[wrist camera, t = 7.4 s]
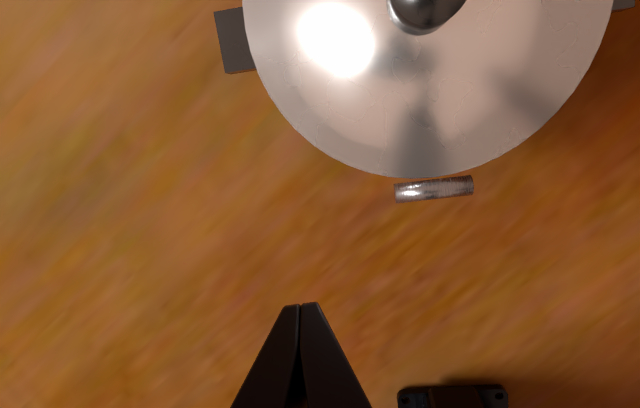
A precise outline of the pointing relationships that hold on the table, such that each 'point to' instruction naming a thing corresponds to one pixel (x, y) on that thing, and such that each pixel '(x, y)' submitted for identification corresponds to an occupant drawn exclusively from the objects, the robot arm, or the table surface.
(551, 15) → the cooker lid
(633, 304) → the table surface
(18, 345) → the table surface
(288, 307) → the robot arm
